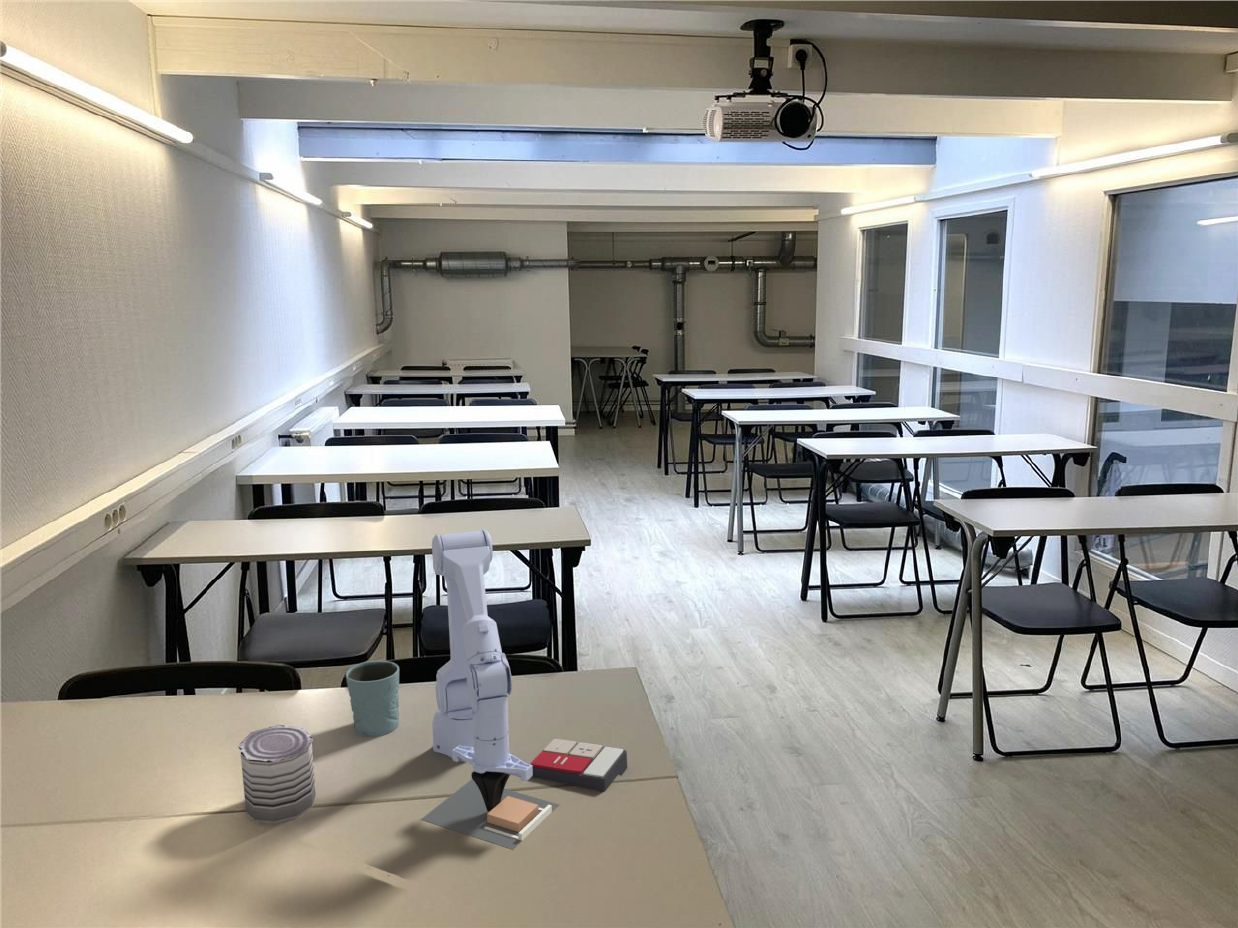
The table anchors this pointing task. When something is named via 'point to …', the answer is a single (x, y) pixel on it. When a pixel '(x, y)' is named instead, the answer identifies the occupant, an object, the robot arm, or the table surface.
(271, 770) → the can
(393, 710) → the green cup
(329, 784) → the table surface
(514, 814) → the tile
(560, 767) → the calculator
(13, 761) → the table surface
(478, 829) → the mat
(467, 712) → the robot arm
